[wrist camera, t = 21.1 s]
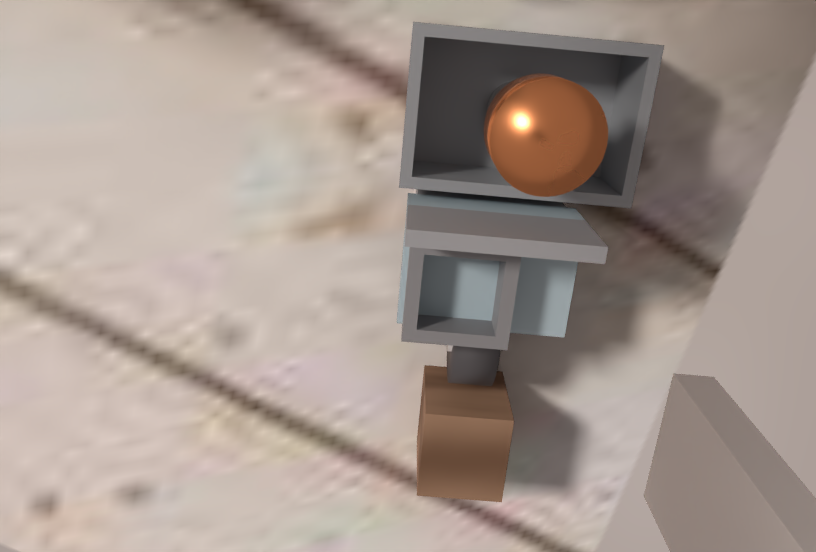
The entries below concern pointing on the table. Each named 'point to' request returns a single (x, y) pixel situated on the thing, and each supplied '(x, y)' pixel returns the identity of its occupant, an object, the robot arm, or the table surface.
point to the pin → (545, 134)
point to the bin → (506, 61)
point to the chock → (463, 438)
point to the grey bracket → (488, 274)
